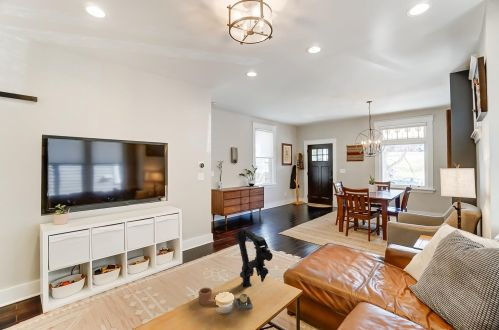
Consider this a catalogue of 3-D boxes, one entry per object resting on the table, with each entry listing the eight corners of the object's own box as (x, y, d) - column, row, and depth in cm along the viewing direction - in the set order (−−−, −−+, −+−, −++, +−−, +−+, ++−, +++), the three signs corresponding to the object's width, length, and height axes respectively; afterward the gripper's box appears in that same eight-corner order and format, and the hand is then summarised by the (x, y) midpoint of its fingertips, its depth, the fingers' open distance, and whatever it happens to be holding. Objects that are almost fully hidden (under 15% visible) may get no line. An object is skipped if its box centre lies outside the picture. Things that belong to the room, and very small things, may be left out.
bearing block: (235, 302, 151) (235, 298, 151) (248, 300, 154) (248, 296, 154) (238, 310, 142) (237, 306, 142) (252, 308, 145) (252, 304, 145)
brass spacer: (239, 303, 150) (239, 294, 150) (246, 302, 151) (246, 293, 151) (240, 307, 145) (240, 298, 145) (247, 306, 146) (247, 297, 146)
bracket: (196, 304, 150) (196, 293, 150) (201, 297, 158) (201, 287, 158) (223, 306, 147) (223, 295, 147) (227, 299, 155) (227, 289, 155)
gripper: (245, 252, 168) (245, 274, 167) (252, 262, 150) (252, 287, 149) (260, 251, 170) (260, 272, 170) (268, 260, 152) (268, 284, 152)
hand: (260, 278), depth 160 cm, fingers open, 9 cm apart
